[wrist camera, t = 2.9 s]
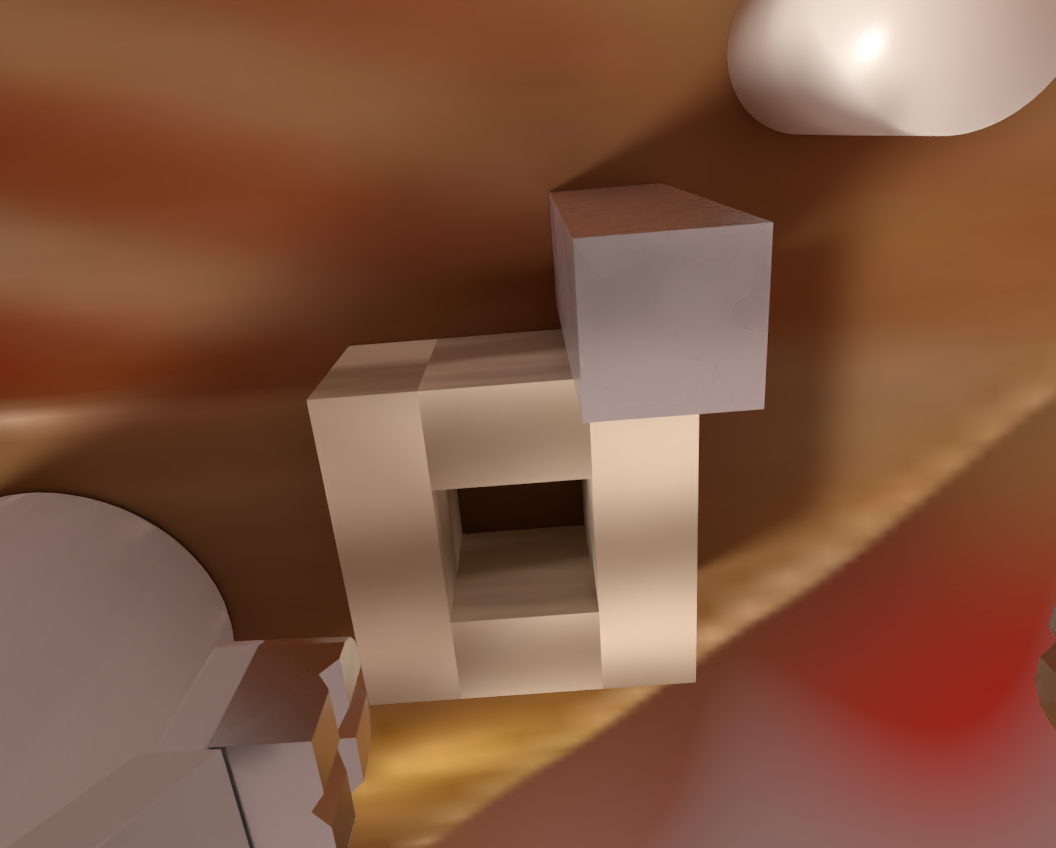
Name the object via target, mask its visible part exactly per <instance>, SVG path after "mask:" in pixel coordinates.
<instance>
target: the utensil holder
mask: <svg viewBox="0 0 1056 848" xmlns="http://www.w3.org/2000/svg"><path fill="white" fill-rule="evenodd" d="M230 641H234V639H233V630H232V625H231V621H230V618H229V615H228V612H227V609H226V606H225V603H224V601H223V599H222V597H221V595H220V593H219V591H218V589H217V587H216V585H215V584H214V582H213V581H212V579H211V578H210V576H209V575H208V573H207V572H206V571H205V570H204V568H203V567H202V566H201V565H200V564H199V563H198V561H197V560H196V559H195V558H194V557H193V556H192V555H191V554H190V553H189V552H188V551H187V550H186V549H185V548H184V547H183V546H182V545H181V544H179V543H178V542H177V541H176V540H175V539H174V538H172V537H171V536H170V535H168V534H167V533H165V532H164V531H162V530H161V529H159V528H158V527H156V526H155V525H153V524H151V523H149V522H148V521H146V520H144V519H143V518H141V517H139V516H137V515H135V514H133V513H131V512H128V511H126V510H124V509H121V508H119V507H116V506H113V505H110V504H107V503H104V502H101V501H97V500H94V499H89V498H85V497H80V496H74V495H68V494H59V493H23V494H16V495H9V496H4V497H0V848H7V847H8V846H10V845H11V844H13V843H14V842H15V841H17V840H18V839H20V838H21V837H22V836H24V835H25V834H27V833H28V832H29V831H31V830H32V829H34V828H35V827H36V826H38V825H39V824H41V823H42V822H43V821H45V820H46V819H48V818H49V817H50V816H52V815H53V814H55V813H56V812H57V811H59V810H60V809H62V808H63V807H64V806H66V805H67V804H69V803H70V802H71V801H73V800H74V799H76V798H77V797H78V796H80V795H81V794H83V793H84V792H85V791H87V790H88V789H90V788H91V787H92V786H94V785H95V784H97V783H98V782H99V781H101V780H102V779H104V778H105V777H106V776H108V775H109V774H111V773H112V772H113V771H115V770H116V769H118V768H119V767H120V766H122V765H123V764H125V763H126V762H127V761H129V760H130V759H132V758H133V757H134V756H136V755H137V754H139V753H153V751H154V750H155V748H156V746H157V744H158V743H159V741H160V739H161V738H162V736H163V734H164V732H165V731H166V729H167V727H168V726H169V724H170V722H171V720H172V719H173V717H174V715H175V714H176V712H177V710H178V708H179V707H180V705H181V703H182V702H183V700H184V698H185V696H186V695H187V693H188V691H189V690H190V688H191V686H192V684H193V683H194V681H195V679H196V678H197V676H198V674H199V672H200V671H201V669H202V667H203V666H204V664H205V662H206V660H207V659H208V657H209V655H210V654H211V652H212V650H213V649H214V648H215V647H216V646H218V645H220V644H221V643H223V642H230Z"/></svg>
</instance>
